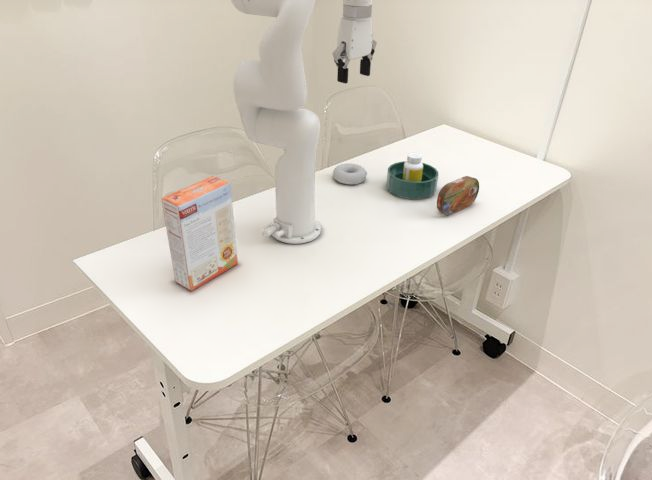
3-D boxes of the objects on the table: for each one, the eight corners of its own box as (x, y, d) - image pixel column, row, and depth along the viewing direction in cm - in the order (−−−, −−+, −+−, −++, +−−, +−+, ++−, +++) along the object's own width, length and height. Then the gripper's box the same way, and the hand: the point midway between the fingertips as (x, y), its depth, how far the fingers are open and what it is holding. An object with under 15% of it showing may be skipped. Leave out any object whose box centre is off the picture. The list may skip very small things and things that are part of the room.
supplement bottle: (424, 187, 168) (428, 155, 162) (412, 193, 165) (416, 161, 159) (409, 181, 171) (413, 149, 165) (397, 186, 168) (401, 155, 162)
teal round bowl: (427, 204, 160) (429, 186, 157) (378, 193, 165) (380, 175, 162) (441, 184, 171) (444, 167, 168) (396, 174, 176) (397, 157, 173)
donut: (332, 186, 169) (367, 186, 169) (332, 175, 167) (367, 175, 167) (333, 171, 177) (366, 172, 177) (333, 161, 175) (366, 161, 175)
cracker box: (220, 255, 137) (213, 173, 125) (238, 265, 134) (232, 182, 122) (172, 281, 128) (159, 196, 116) (190, 292, 125) (179, 206, 113)
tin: (441, 219, 154) (445, 190, 149) (432, 214, 156) (436, 186, 151) (477, 203, 162) (482, 175, 157) (468, 198, 164) (473, 171, 159)
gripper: (366, 5, 158) (362, 69, 168) (324, 14, 147) (322, 82, 157) (388, 9, 154) (383, 75, 164) (347, 18, 143) (344, 88, 153)
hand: (353, 78), depth 160 cm, fingers open, 9 cm apart
